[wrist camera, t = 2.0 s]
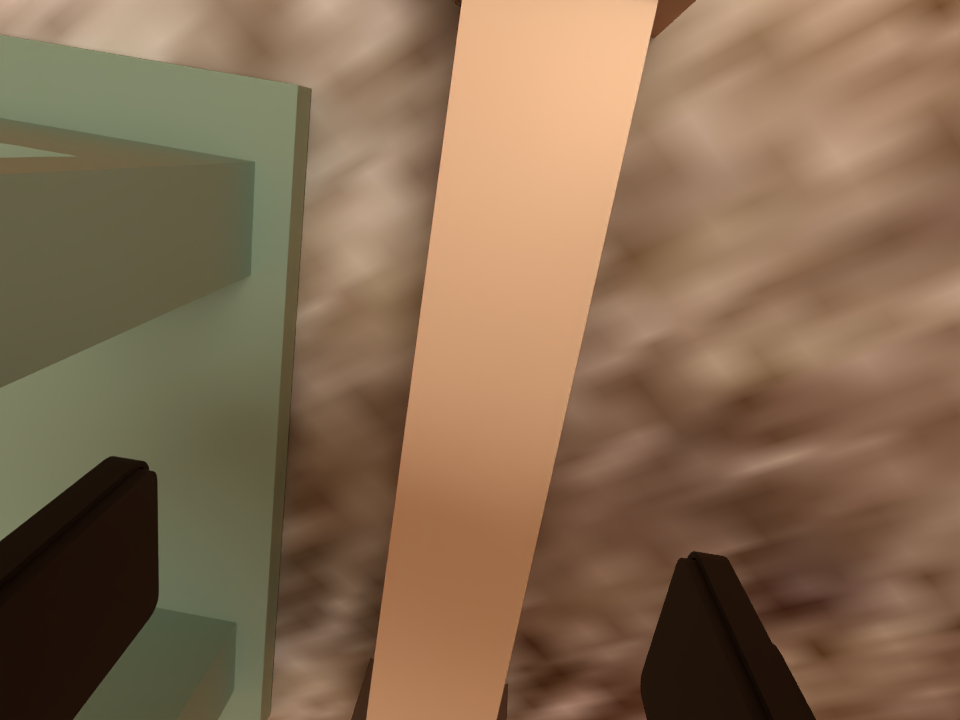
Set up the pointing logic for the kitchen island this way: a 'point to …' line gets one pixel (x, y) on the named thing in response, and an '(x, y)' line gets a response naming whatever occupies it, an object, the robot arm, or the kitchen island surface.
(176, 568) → the rack
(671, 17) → the tan wooden bar
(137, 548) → the robot arm
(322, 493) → the kitchen island surface
